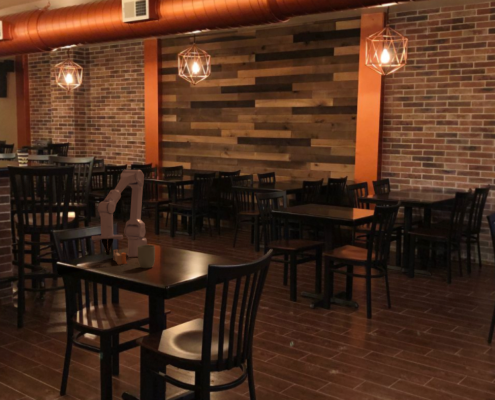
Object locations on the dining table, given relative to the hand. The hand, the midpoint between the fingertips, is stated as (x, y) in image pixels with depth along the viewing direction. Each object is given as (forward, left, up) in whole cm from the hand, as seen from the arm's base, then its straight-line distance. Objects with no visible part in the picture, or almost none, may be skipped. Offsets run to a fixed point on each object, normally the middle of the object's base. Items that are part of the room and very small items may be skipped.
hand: (108, 254), depth 282 cm
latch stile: (-7, +4, -4) cm, 9 cm away
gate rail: (-5, 0, -4) cm, 6 cm away
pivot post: (-5, -7, -4) cm, 9 cm away
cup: (-15, +18, -4) cm, 24 cm away
